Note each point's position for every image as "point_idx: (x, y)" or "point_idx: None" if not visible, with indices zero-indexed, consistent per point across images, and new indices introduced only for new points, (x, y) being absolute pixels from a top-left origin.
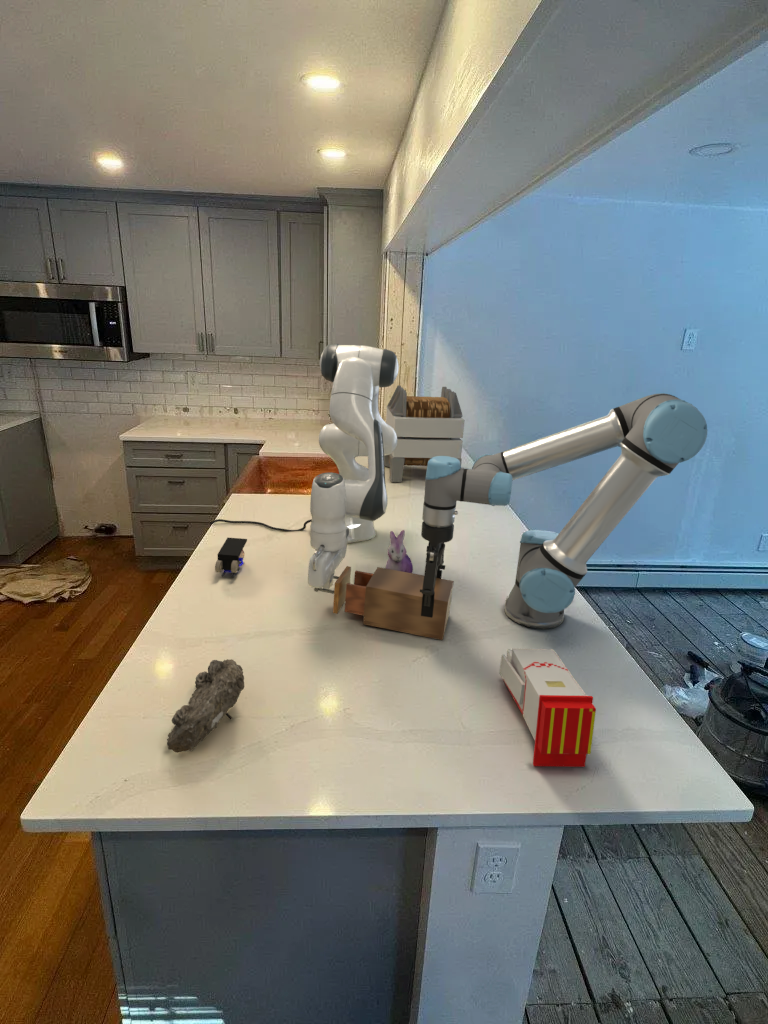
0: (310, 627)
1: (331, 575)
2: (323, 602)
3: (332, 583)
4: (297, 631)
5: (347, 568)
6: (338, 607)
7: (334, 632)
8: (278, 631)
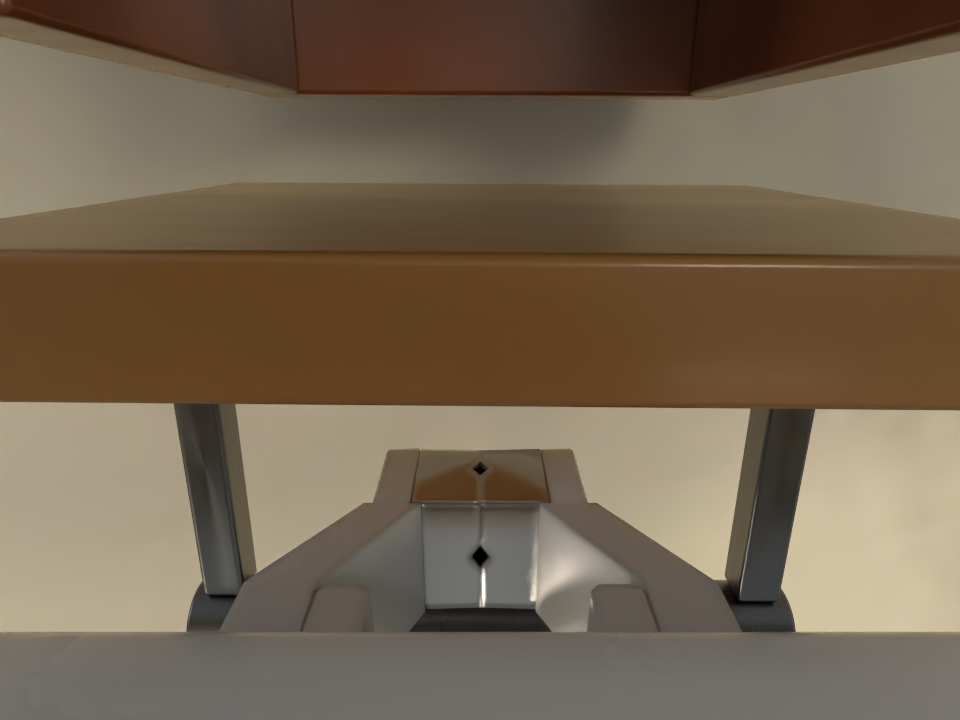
0: None
1: (362, 580)
2: (371, 425)
3: (399, 460)
4: (937, 470)
5: (1, 329)
6: (743, 190)
7: (939, 134)
8: (944, 597)
